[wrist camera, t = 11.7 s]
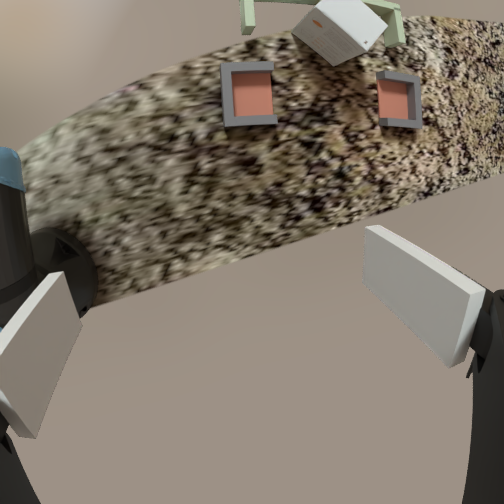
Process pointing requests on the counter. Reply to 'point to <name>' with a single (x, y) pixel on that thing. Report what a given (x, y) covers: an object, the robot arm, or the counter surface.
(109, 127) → the counter surface
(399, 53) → the counter surface
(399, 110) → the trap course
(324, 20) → the small box
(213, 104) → the counter surface
